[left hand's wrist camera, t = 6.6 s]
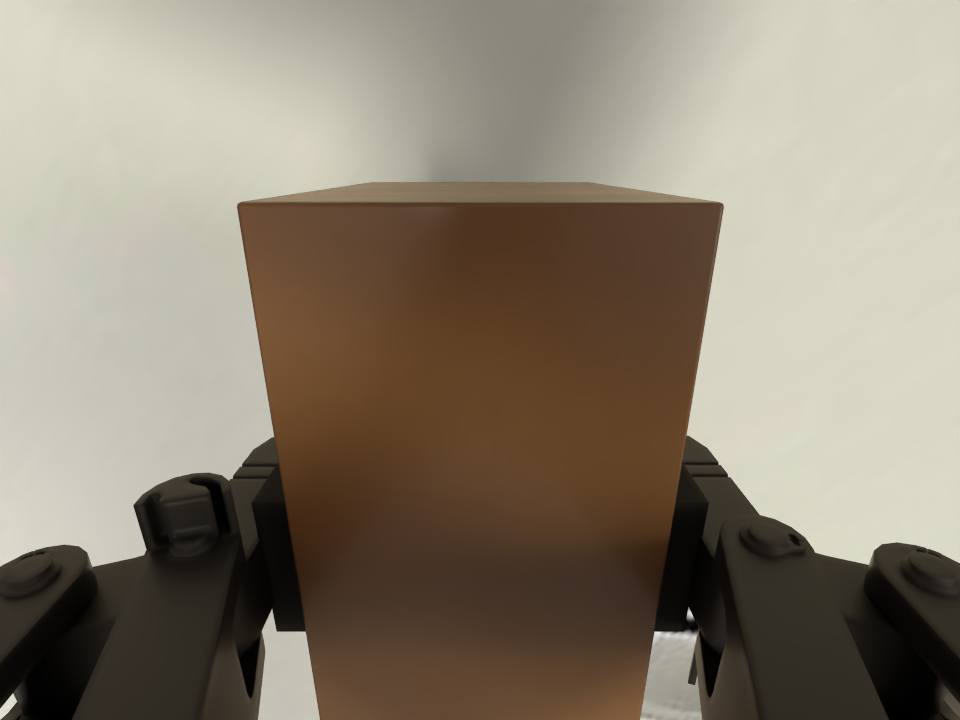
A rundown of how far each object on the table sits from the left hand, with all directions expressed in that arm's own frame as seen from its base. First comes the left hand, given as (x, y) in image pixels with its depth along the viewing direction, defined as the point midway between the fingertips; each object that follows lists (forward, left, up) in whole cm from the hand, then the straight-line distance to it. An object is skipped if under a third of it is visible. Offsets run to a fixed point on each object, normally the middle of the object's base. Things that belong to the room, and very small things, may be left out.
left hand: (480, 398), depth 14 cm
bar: (+35, +7, -1) cm, 36 cm away
